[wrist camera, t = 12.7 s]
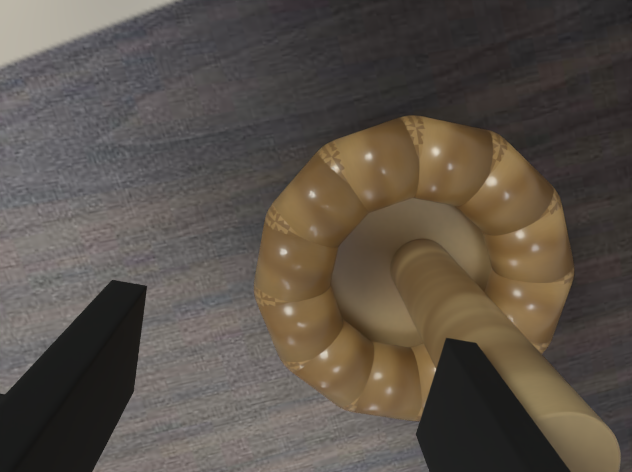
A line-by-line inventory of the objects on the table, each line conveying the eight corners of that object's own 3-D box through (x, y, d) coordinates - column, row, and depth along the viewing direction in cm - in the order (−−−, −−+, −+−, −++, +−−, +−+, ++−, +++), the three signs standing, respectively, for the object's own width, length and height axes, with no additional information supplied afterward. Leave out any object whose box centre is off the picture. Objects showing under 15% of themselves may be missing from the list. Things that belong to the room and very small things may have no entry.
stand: (338, 139, 21) (396, 211, 8) (535, 180, 22) (868, 305, 9) (297, 326, 24) (293, 607, 11) (477, 358, 25) (674, 656, 12)
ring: (288, 89, 19) (286, 88, 16) (588, 150, 20) (635, 160, 17) (239, 368, 23) (231, 409, 20) (499, 409, 24) (527, 453, 21)
